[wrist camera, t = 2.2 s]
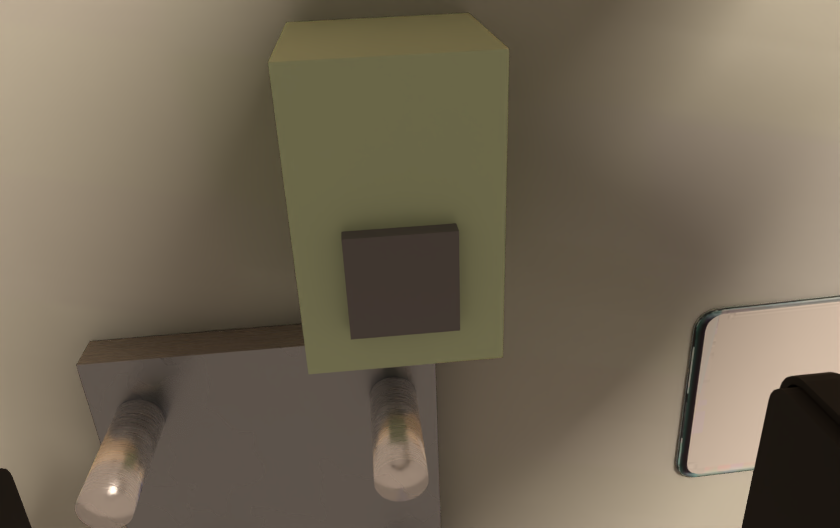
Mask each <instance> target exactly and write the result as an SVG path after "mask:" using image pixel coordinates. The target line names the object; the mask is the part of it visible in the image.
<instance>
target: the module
mask: <svg viewBox="0 0 840 528" xmlns="http://www.w3.org/2000/svg"><path fill="white" fill-rule="evenodd" d="M268 68H269V76H270V84H271V91H272V99H273V106H274V114H275V122H276V129H277V137H278V145H279V152H280V160H281V168H282V175H283V183H284V191H285V198H286V206H287V214H288V221H289V229H290V237H291V244H292V252H293V259H294V267H295V275H296V282H297V290H298V298H299V305H300V313H301V321H302V328H303V336H304V344H305V351H306V359H307V367H308V374H319V373H330V372H342V371H354V370H365V369H377V368H389V367H400V366H412V365H424V364H435V363H447V362H458V361H470V360H482V359H493V358H503V330H504V282H505V233H506V184H507V136H508V87H509V48H508V47H506V46H505V45H504V44H503V43H502V42H501V41H500V40H499V39H498V38H496V37H495V36H494V35H493V34H492V33H491V32H490V31H489V30H487V29H486V28H485V27H484V26H483V25H482V24H481V23H480V22H478V21H477V20H476V19H475V18H474V17H473V16H472V15H471V14H469V13H454V14H435V15H415V16H396V17H376V18H357V19H338V20H318V21H299V22H286V24H285V26H284V28H283V30H282V33H281V35H280V37H279V39H278V41H277V43H276V46H275V48H274V50H273V52H272V54H271V56H270V59H269V61H268Z"/></svg>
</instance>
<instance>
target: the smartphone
mask: <svg viewBox="0 0 840 528" xmlns="http://www.w3.org/2000/svg"><path fill="white" fill-rule="evenodd" d="M824 372H835V373H838V374H840V295H837V296H828V297H819V298H809V299H800V300H791V301H781V302H772V303H762V304H753V305H744V306H734V307H725V308H716V309H712V310H710V311H708V312H706V313H704V314H703V315H701V316H700V317H699V319H698V320H697V321H696V323H695V326H694V330H693V338H692V345H691V353H690V360H689V367H688V375H687V383H686V390H685V398H684V405H683V413H682V421H681V428H680V436H679V444H678V451H677V459H676V466H677V468H678V470H679V472H680V473H681V474H682V475H684V476H687V477H700V476H708V475H716V474H725V473H733V472H741V471H749V470H754V467H755V462H756V457H757V452H758V448H759V443H760V438H761V433H762V429H763V424H764V419H765V414H766V409H767V405H768V400H769V397H770V394H771V393H772V392H773V390H776V389H779V388H780V385H781V383H782V381H783V380H784V379H785V378H786V377H789V376H794V375H804V374H814V373H824Z"/></svg>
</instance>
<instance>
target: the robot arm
mask: <svg viewBox="0 0 840 528" xmlns="http://www.w3.org/2000/svg"><path fill="white" fill-rule="evenodd" d="M0 528H31V525H30V522H29V520H28V517H27V514H26V512H25V509H24V506H23V504H22V501H21V498H20V496H19V493H18V490H17V488H16V485H15V482H14V480H13V477H12V475H11V473H10V472H9V471H8V470H7V469H3V468H1V469H0ZM742 528H840V374H838V373H835V372H824V373H814V374H804V375H794V376H789V377H786V378H785V379H784V380H783V381H782V383H781V385H780V388H779V389H776V390H773V392H772V393H771V394H770V397H769V400H768V405H767V409H766V414H765V419H764V424H763V429H762V433H761V438H760V443H759V448H758V452H757V457H756V462H755V467H754V471H753V476H752V481H751V486H750V491H749V495H748V500H747V505H746V510H745V514H744V519H743V524H742Z"/></svg>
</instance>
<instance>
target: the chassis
mask: <svg viewBox="0 0 840 528" xmlns="http://www.w3.org/2000/svg"><path fill="white" fill-rule="evenodd" d="M76 366H77V369H78V372H79V376H80V379H81V382H82V385H83V388H84V392H85V395H86V398H87V401H88V404H89V408H90V411H91V414H92V417H93V420H94V424H95V427H96V430H97V433H98V436H99V440H100V443H101V446H100V449H99V451H98V453H97V455H96V458H95V460H94V462H93V464H92V467H91V469H90V471H89V473H88V476H87V478H86V480H85V482H84V485H83V487H82V489H81V491H80V494H79V496H78V498H77V500H76V503H75V513H76V515H77V517H78V518H79V519H80V520H81V521H82V522H83V523H84V524H86V525H87V526H89V527H92V528H122V527H124V526H125V525H126V526H127V528H441V518H440V489H439V459H438V429H437V400H436V370H435V364H424V365H412V366H400V367H389V368H377V369H365V370H354V371H342V372H330V373H319V374H308V367H307V359H306V351H305V344H304V336H303V328H302V324H296V325H284V326H271V327H259V328H247V329H235V330H223V331H210V332H198V333H186V334H174V335H161V336H149V337H137V338H125V339H113V340H100V341H90V342H89V344H88V345H87V347H86V349H85V351H84V352H83V354H82V356H81V358H80V359H79V361H78V363H77V365H76Z"/></svg>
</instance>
